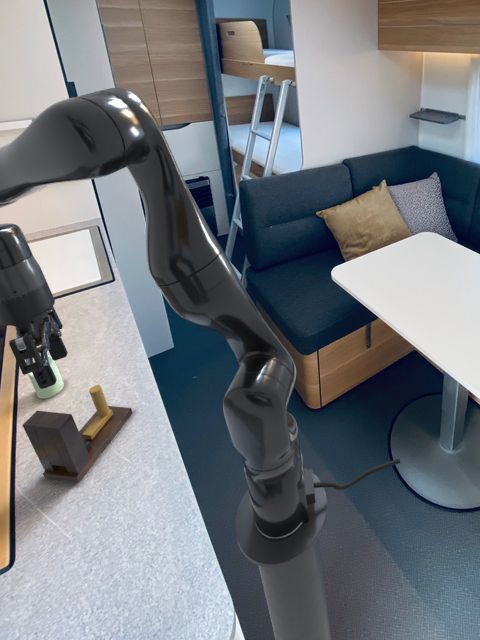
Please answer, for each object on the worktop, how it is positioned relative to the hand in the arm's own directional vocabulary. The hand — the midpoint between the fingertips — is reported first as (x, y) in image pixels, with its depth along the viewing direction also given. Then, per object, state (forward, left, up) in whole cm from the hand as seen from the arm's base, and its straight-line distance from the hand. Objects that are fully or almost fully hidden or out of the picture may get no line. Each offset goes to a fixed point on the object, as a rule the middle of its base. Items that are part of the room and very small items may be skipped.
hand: (55, 370), depth 70 cm
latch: (+2, -5, -23) cm, 24 cm away
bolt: (+1, -7, -21) cm, 22 cm away
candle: (+17, -22, -23) cm, 36 cm away
